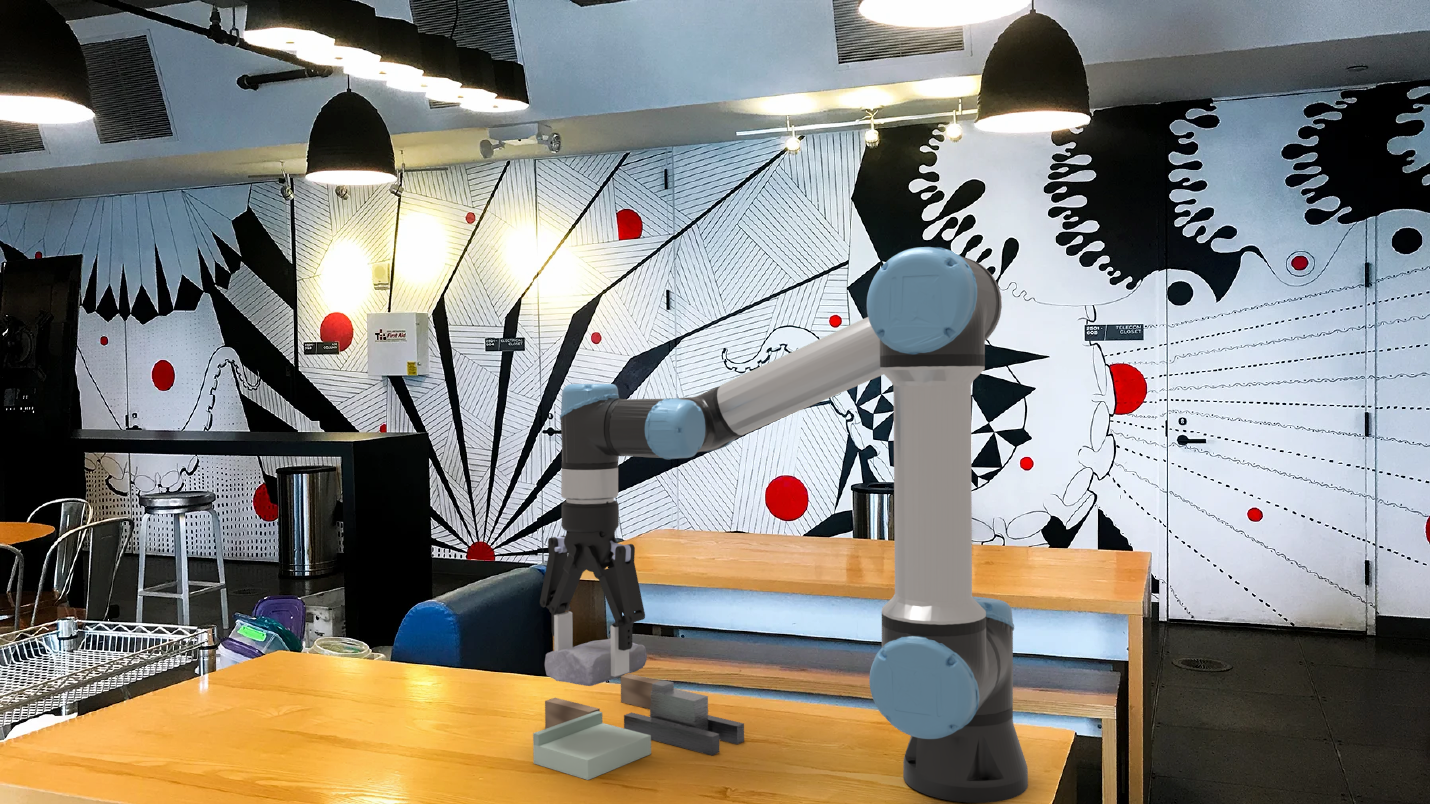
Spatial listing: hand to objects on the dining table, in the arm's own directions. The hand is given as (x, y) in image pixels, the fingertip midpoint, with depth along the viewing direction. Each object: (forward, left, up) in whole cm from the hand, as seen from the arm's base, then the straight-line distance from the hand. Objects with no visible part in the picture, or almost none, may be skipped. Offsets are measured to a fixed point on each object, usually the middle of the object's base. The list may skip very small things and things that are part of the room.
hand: (591, 667), depth 146 cm
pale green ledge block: (0, 0, -12) cm, 12 cm away
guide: (-4, -14, -12) cm, 19 cm away
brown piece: (+10, -14, -12) cm, 21 cm away
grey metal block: (-3, -14, -12) cm, 19 cm away
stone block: (0, 0, -1) cm, 1 cm away
